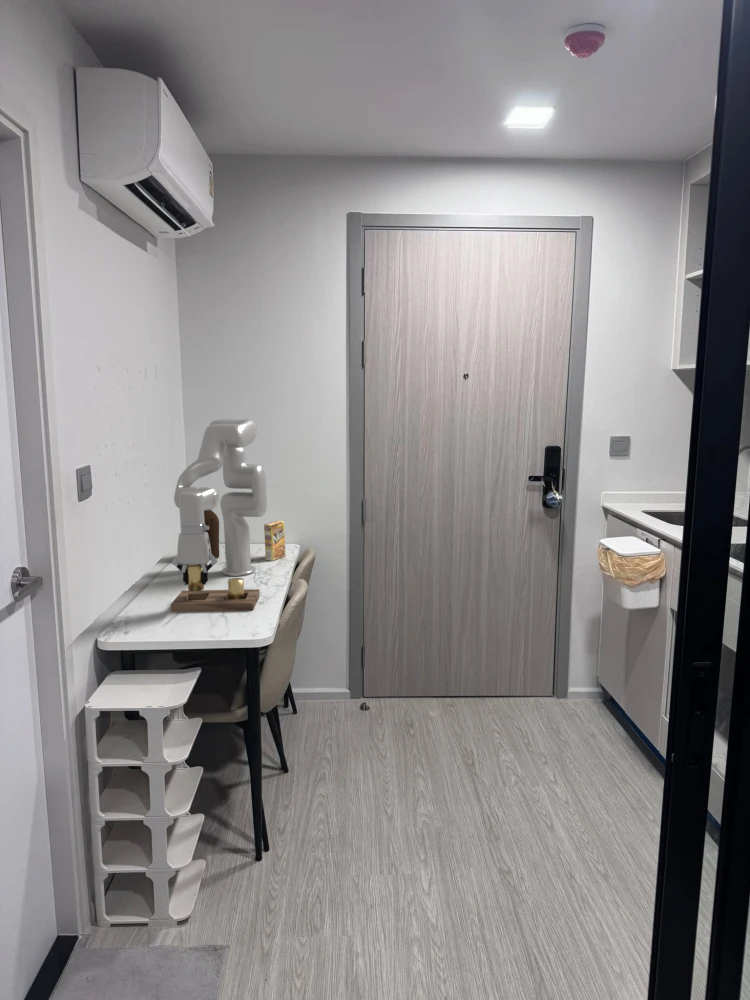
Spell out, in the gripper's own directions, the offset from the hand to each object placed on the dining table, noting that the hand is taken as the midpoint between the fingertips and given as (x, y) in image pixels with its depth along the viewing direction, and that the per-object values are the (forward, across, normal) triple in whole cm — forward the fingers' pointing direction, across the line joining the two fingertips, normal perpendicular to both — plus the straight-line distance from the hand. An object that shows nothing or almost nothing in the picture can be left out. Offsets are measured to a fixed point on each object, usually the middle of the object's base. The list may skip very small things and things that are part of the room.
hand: (195, 583), depth 214 cm
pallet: (+8, -6, 0) cm, 10 cm away
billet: (+2, 0, 0) cm, 2 cm away
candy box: (+8, -18, -61) cm, 64 cm away
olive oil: (+8, +10, -64) cm, 65 cm away
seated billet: (+7, -13, 0) cm, 15 cm away
